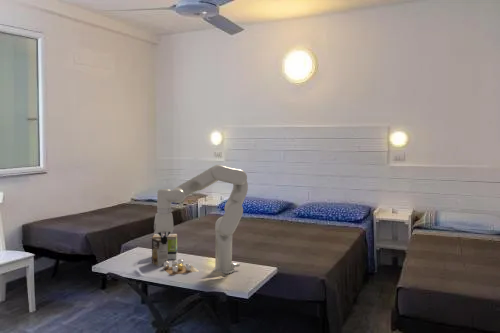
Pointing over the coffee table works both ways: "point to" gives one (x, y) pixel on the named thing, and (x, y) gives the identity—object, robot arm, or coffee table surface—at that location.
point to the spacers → (175, 267)
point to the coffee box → (159, 252)
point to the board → (181, 271)
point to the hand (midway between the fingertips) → (163, 243)
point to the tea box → (170, 245)
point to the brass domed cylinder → (180, 267)
